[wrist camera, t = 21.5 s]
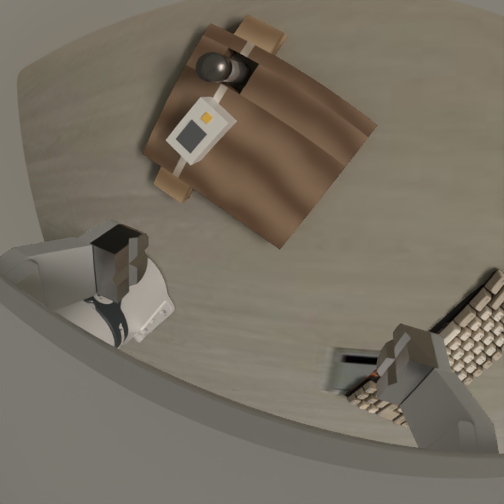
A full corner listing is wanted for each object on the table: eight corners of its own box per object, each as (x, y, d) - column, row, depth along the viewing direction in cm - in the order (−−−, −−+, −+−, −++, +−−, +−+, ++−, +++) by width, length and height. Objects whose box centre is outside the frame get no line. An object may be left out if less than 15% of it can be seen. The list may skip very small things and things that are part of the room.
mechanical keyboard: (485, 251, 35) (493, 263, 32) (540, 306, 35) (547, 317, 32) (342, 393, 55) (340, 407, 52) (407, 420, 55) (407, 432, 52)
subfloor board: (271, 256, 45) (267, 264, 43) (144, 167, 44) (135, 171, 42) (389, 105, 31) (392, 105, 29) (230, 8, 30) (222, 4, 28)
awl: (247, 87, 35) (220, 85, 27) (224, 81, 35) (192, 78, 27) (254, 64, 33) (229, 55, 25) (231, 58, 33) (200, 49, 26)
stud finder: (201, 160, 38) (190, 165, 36) (177, 136, 38) (164, 140, 35) (237, 121, 35) (227, 123, 32) (211, 96, 34) (200, 97, 31)
